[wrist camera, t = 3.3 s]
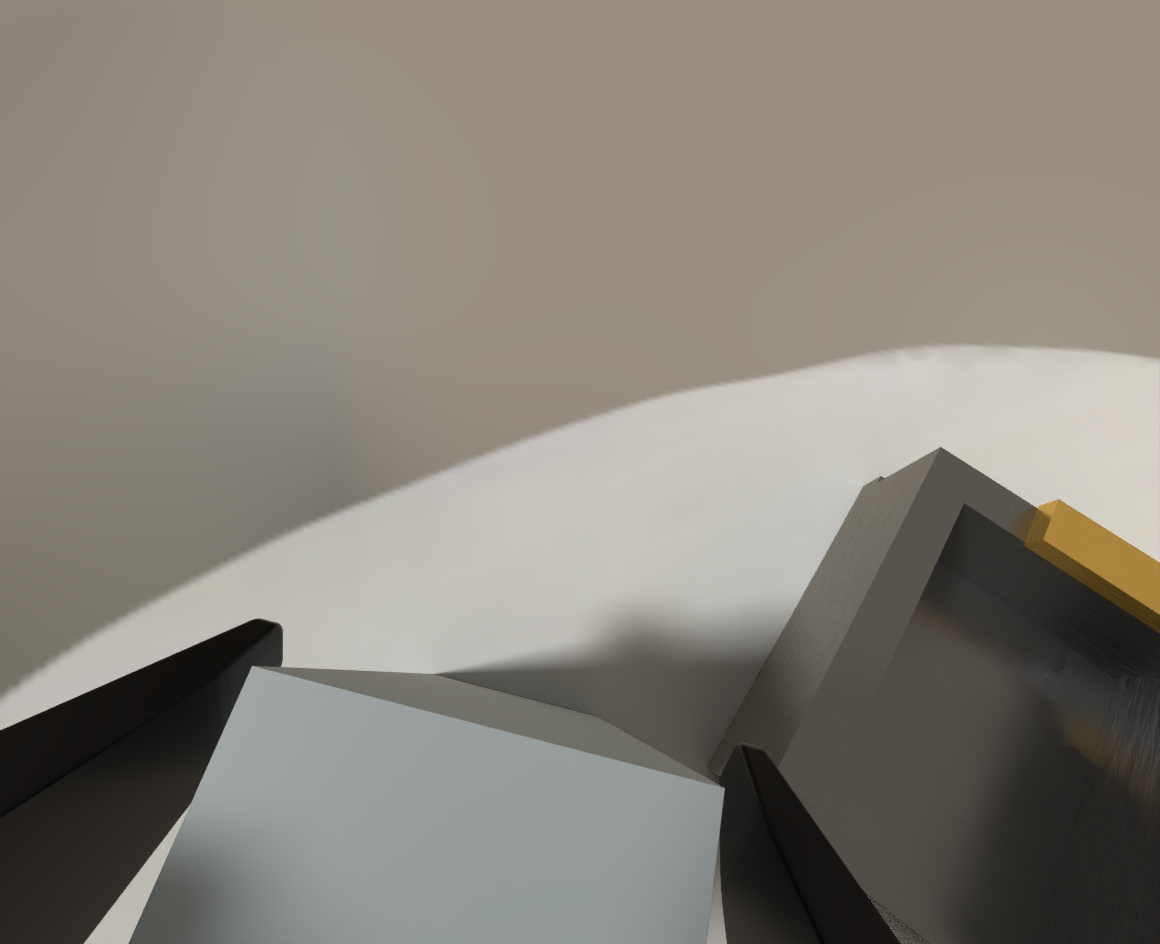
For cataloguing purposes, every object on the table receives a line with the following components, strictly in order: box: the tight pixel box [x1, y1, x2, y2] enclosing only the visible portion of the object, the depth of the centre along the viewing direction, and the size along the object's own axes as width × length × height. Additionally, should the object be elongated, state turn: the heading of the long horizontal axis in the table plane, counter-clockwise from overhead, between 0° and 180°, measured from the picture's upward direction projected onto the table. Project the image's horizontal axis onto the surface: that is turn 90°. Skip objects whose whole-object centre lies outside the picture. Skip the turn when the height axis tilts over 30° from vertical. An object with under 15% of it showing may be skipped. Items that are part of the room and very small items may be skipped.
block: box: [129, 666, 725, 944], centre depth 10 cm, size 2×5×11 cm, turn 77°
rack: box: [707, 447, 1160, 944], centre depth 14 cm, size 11×10×5 cm
